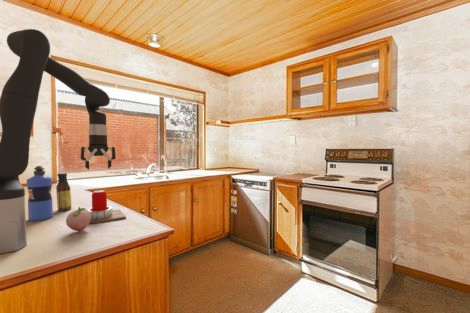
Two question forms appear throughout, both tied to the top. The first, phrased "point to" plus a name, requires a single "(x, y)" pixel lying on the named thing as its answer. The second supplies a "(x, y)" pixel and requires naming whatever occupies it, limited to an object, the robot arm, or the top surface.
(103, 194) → the beverage can
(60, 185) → the sauce bottle
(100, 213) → the steel collar
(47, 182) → the water bottle
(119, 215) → the walnut base board
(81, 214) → the decorative fruit
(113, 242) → the top surface
